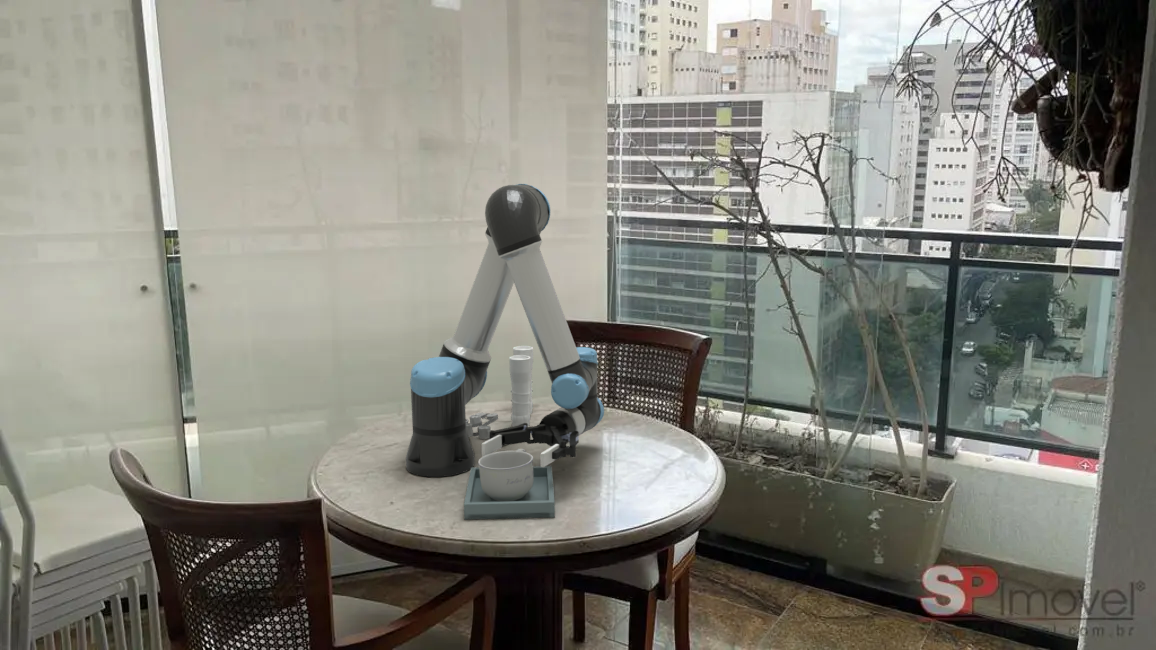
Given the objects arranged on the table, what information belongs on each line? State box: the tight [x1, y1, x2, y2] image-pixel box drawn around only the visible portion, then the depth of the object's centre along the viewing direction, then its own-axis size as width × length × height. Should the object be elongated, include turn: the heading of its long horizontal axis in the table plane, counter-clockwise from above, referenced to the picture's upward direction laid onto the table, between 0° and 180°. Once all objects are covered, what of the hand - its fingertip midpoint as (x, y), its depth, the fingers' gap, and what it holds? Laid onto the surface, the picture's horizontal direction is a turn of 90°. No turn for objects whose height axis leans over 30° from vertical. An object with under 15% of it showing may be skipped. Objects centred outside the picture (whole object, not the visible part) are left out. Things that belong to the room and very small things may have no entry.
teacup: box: [477, 448, 534, 502], centre depth 167 cm, size 14×11×8 cm
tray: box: [463, 465, 556, 521], centre depth 167 cm, size 17×20×3 cm
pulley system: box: [466, 412, 499, 440], centre depth 211 cm, size 27×5×15 cm
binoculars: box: [508, 345, 534, 427], centre depth 220 cm, size 17×5×18 cm, turn 0°
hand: (512, 455), depth 166 cm, fingers open, 13 cm apart
